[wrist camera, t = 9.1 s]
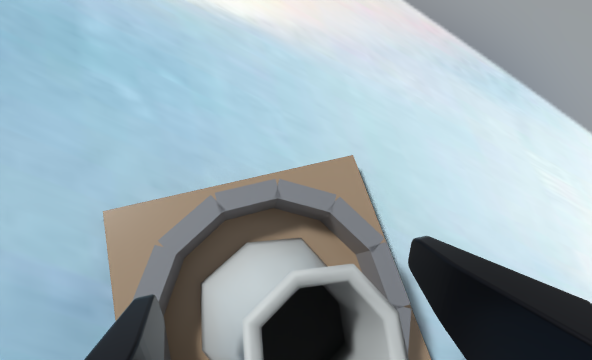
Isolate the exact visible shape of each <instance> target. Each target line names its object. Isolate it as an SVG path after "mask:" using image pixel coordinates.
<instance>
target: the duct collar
mask: <svg viewBox="0 0 592 360" xmlns="http://www.w3.org/2000/svg"><path fill="white" fill-rule="evenodd" d="M103 217H104V225H105V234H106V242H107V251H108V260H109V268H110V277H111V285H112V294H113V303H114V311H115V320H117V319H118V318H119V317H120V316H121V314H122V313H123V312H124V311H125V309H126V308H127V307H128V306H129V305H130V303H131V302H132V301H133V300H134V299H135V298H138V297H142V296H146V295H151V294H153V295H155V296H156V297H157V300H158V303H159V306H160V309H161V312H162V315H163V318H164V324H165V336H164V360H209V358H208V357H207V356H206V355H205V353H204V352H203V351H202V328H201V283H202V282H203V281H204V280H205V279H206V278H207V277H208V276H210V275H211V274H212V273H213V272H214V271H215V270H216V269H217V268H219V267H220V266H221V265H222V264H223V263H224V262H225V261H226V260H228V259H229V258H230V257H231V256H232V255H233V254H234V253H236V252H237V251H238V250H239V249H240V248H241V247H242V246H243V245H245V244H246V243H248V242H258V241H269V240H279V239H289V238H300V237H301V238H302V239H303V240H304V241H305V242H306V243H307V245H308V246H309V247H310V248H311V249H312V250H313V251H314V252H315V253H316V254H317V255H318V257H319V258H320V259H321V260H322V261H323V262H324V263H325V264H326V265H327V266H337V265H345V264H354V265H355V266H356V267H357V268H358V269H359V270H360V271H361V272H362V273H363V274H364V275H365V276H366V277H367V279H368V280H369V281H370V282H371V283H372V284H373V285H374V286H375V287H376V288H377V289H378V290H379V291H380V292H381V294H382V295H383V296H384V297H385V298H386V299H387V300H388V301H389V302H390V303H391V304H392V305H393V306H394V307H395V309H396V310H397V311H398V312H399V315H400V320H401V325H402V330H403V334H404V339H405V344H406V349H407V353H408V358H409V360H431V358H430V355H429V352H428V350H427V347H426V345H425V342H424V339H423V337H422V334H421V332H420V329H419V326H418V324H417V321H416V318H415V316H414V313H413V311H412V308H411V305H410V304H411V303H410V301H409V298H408V296H407V293H406V290H405V288H404V285H403V283H402V280H401V277H400V275H399V272H398V270H397V267H396V264H395V262H394V259H393V257H392V254H391V251H390V249H389V246H388V244H387V242H386V240H385V238H384V235H383V232H382V230H381V227H380V225H379V222H378V219H377V217H376V214H375V211H374V209H373V206H372V204H371V201H370V198H369V196H368V193H367V191H366V188H365V185H364V183H363V180H362V178H361V175H360V172H359V170H358V167H357V164H356V162H355V159H354V157H353V155H351V156H347V157H342V158H338V159H333V160H329V161H325V162H320V163H316V164H311V165H307V166H302V167H298V168H293V169H289V170H285V171H280V172H276V173H271V174H267V175H262V176H258V177H253V178H249V179H245V180H240V181H236V182H231V183H227V184H222V185H218V186H214V187H209V188H205V189H200V190H196V191H191V192H187V193H182V194H178V195H174V196H169V197H165V198H160V199H156V200H151V201H147V202H142V203H138V204H134V205H129V206H125V207H120V208H116V209H111V210H107V211H103Z"/></svg>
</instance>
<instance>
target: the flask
mask: <svg viewBox="0 0 592 360" xmlns="http://www.w3.org/2000/svg"><path fill="white" fill-rule="evenodd" d="M201 328H202V351H203V352H204V353H205V355H206V356H207V357H208V358H209V360H409V358H408V353H407V349H406V344H405V339H404V334H403V330H402V325H401V320H400V315H399V312H398V311H397V310H396V309H395V307H394V306H393V305H392V304H391V303H390V302H389V301H388V300H387V299H386V298H385V297H384V296H383V295H382V294H381V292H380V291H379V290H378V289H377V288H376V287H375V286H374V285H373V284H372V283H371V282H370V281H369V280H368V279H367V277H366V276H365V275H364V274H363V273H362V272H361V271H360V270H359V269H358V268H357V267H356V266H355V265H354V264H345V265H337V266H327V265H326V264H325V263H324V262H323V261H322V260H321V259H320V258H319V257H318V255H317V254H316V253H315V252H314V251H313V250H312V249H311V248H310V247H309V246H308V245H307V243H306V242H305V241H304V240H303V239H302V238H301V237H300V238H289V239H279V240H269V241H258V242H248V243H246V244H245V245H243V246H242V247H241V248H240V249H239V250H238V251H237V252H236V253H234V254H233V255H232V256H231V257H230V258H229V259H228V260H226V261H225V262H224V263H223V264H222V265H221V266H220V267H219V268H217V269H216V270H215V271H214V272H213V273H212V274H211V275H210V276H208V277H207V278H206V279H205V280H204V281H203V282H202V283H201Z"/></svg>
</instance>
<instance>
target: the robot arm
mask: <svg viewBox="0 0 592 360" xmlns="http://www.w3.org/2000/svg"><path fill="white" fill-rule="evenodd" d="M408 264H409V268H410V270H411V272H412V274H413V276H414V277H415V279H416V281H417V283H418V285H419V286H420V288H421V290H422V292H423V293H424V295H425V297H426V299H427V300H428V302H429V304H430V306H431V307H432V309H433V311H434V313H435V314H436V316H437V317H438V319H439V321H440V322H441V324H442V325H443V327H444V328H445V330H446V331H447V332H448V334H449V335H450V337H451V338H452V340H453V341H454V342H455V344H456V345H457V347H458V348H459V350H460V351H461V352H462V354H463V355H464V357H465V358H466V360H592V303H590V302H589V301H587V300H584V299H582V298H579V297H577V296H574V295H572V294H569V293H567V292H564V291H562V290H560V289H557V288H555V287H552V286H550V285H547V284H545V283H542V282H540V281H537V280H535V279H533V278H530V277H528V276H525V275H523V274H520V273H518V272H515V271H513V270H510V269H508V268H505V267H503V266H501V265H498V264H496V263H493V262H491V261H488V260H486V259H483V258H481V257H478V256H476V255H474V254H471V253H469V252H466V251H464V250H461V249H459V248H456V247H454V246H451V245H449V244H446V243H444V242H442V241H439V240H437V239H434V238H432V237H429V236H423V237H418V238H415V239H413V241H412V243H411V248H410V254H409V259H408ZM164 336H165V324H164V318H163V315H162V312H161V309H160V306H159V303H158V300H157V297H156V296H155V295H153V294H151V295H146V296H142V297H138V298H135V299H134V300H133V301H132V302H131V303H130V305H129V306H128V307H127V308H126V309H125V311H124V312H123V313H122V314H121V316H120V317H119V318H118V319H117V320H116V322H115V323H114V324H113V325H112V327H111V328H110V329H109V330H108V331H107V333H106V334H105V335H104V336H103V337H102V339H101V340H100V341H99V342H98V344H97V345H96V346H95V347H94V348H93V350H92V351H91V352H90V353H89V355H88V356H87V357H86V358H85V359H84V360H164Z"/></svg>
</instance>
